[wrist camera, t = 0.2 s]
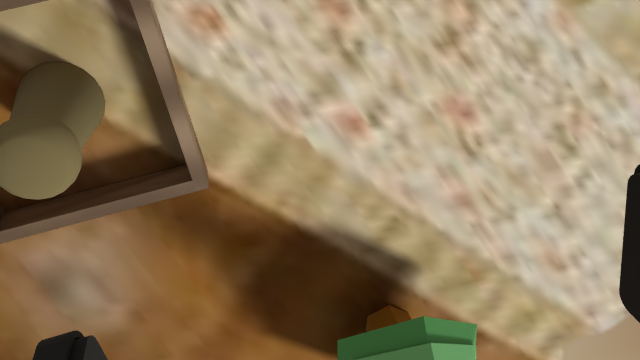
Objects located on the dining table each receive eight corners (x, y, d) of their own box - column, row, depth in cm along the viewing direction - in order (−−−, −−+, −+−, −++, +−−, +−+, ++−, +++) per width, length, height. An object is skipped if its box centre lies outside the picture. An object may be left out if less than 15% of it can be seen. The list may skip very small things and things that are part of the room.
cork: (9, 61, 41) (-41, 122, 32) (101, 62, 42) (78, 121, 33) (23, 140, 44) (-19, 217, 35) (109, 138, 45) (90, 213, 36)
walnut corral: (-123, 15, 38) (-145, 26, 36) (136, -45, 40) (133, -38, 37) (-2, 225, 47) (-12, 246, 44) (207, 170, 48) (208, 187, 46)
